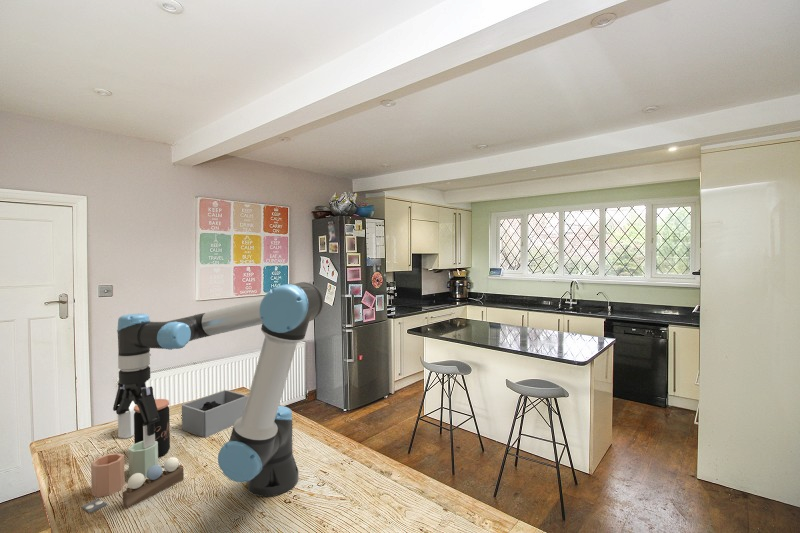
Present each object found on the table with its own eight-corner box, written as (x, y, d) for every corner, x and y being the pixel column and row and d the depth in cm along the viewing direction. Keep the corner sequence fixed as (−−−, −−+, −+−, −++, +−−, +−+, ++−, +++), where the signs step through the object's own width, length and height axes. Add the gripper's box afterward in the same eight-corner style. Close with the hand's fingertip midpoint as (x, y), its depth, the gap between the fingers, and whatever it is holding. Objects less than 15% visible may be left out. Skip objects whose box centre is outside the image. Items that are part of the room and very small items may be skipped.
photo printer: (131, 428, 158) (130, 398, 158) (142, 426, 159) (142, 397, 159) (118, 439, 148) (118, 407, 148) (131, 438, 149) (130, 406, 149)
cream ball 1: (147, 486, 111) (147, 472, 111) (132, 493, 108) (132, 479, 107) (140, 482, 113) (139, 468, 113) (125, 489, 109) (124, 475, 109)
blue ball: (165, 477, 115) (165, 464, 115) (151, 484, 112) (151, 470, 112) (157, 473, 117) (157, 460, 117) (143, 480, 114) (143, 467, 114)
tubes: (170, 474, 124) (169, 446, 124) (90, 513, 105) (89, 481, 105) (149, 464, 130) (149, 438, 130) (70, 499, 111) (69, 469, 111)
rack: (183, 479, 121) (183, 465, 121) (127, 508, 107) (126, 492, 107) (179, 477, 122) (178, 463, 122) (122, 506, 108) (122, 489, 108)
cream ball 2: (181, 469, 120) (181, 456, 120) (168, 475, 116) (168, 462, 116) (174, 466, 122) (174, 453, 122) (161, 472, 118) (161, 459, 118)
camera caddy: (249, 418, 167) (248, 395, 167) (204, 437, 149) (204, 412, 149) (225, 411, 175) (225, 389, 174) (181, 429, 157) (180, 404, 157)
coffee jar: (153, 463, 131) (152, 411, 130) (126, 460, 133) (125, 408, 132) (177, 448, 141) (176, 399, 141) (152, 445, 143) (151, 397, 143)
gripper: (173, 370, 108) (174, 444, 109) (126, 359, 120) (127, 426, 121) (144, 377, 102) (146, 456, 102) (98, 365, 114) (99, 436, 114)
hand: (136, 440), depth 111 cm, fingers open, 13 cm apart
